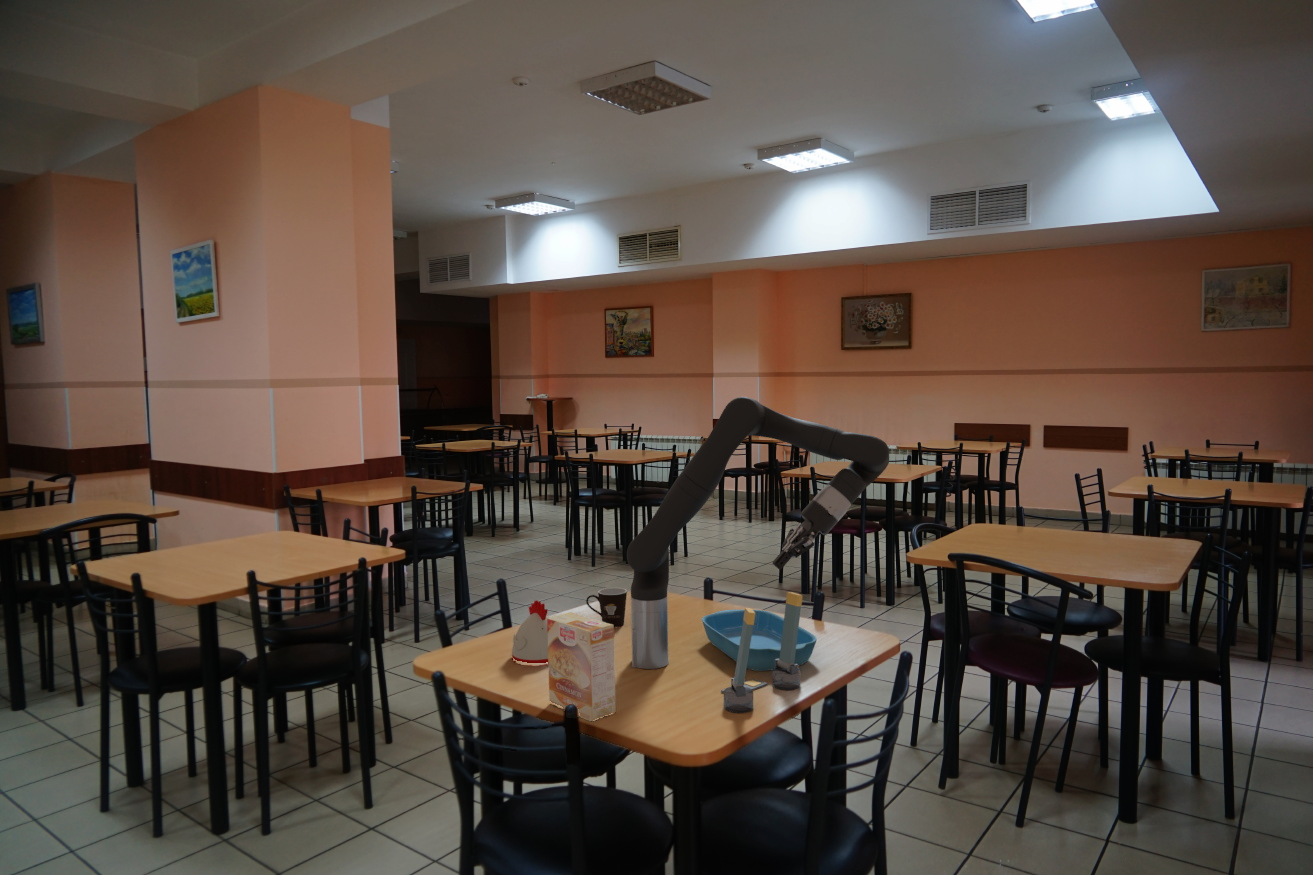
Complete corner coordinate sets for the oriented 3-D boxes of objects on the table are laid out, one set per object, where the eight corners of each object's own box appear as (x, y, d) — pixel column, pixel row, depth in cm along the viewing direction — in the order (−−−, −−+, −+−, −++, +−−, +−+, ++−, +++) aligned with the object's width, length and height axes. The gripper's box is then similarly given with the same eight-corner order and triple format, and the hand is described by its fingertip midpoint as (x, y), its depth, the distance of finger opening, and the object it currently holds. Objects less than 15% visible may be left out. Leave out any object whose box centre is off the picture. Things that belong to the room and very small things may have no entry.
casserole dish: (832, 669, 196) (832, 640, 196) (751, 681, 188) (751, 652, 188) (761, 629, 230) (761, 604, 230) (690, 638, 223) (690, 613, 222)
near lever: (740, 687, 174) (752, 608, 174) (743, 693, 170) (756, 613, 170) (731, 686, 174) (743, 607, 173) (734, 692, 170) (747, 612, 169)
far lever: (783, 666, 187) (792, 591, 187) (794, 671, 183) (803, 595, 184) (776, 666, 186) (785, 591, 186) (788, 671, 182) (797, 595, 183)
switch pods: (740, 715, 168) (740, 689, 167) (717, 707, 172) (717, 682, 172) (806, 684, 185) (805, 661, 184) (783, 678, 189) (783, 655, 189)
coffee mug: (633, 622, 239) (632, 589, 238) (616, 629, 232) (616, 596, 231) (601, 617, 245) (601, 585, 245) (584, 624, 238) (584, 591, 237)
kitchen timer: (529, 670, 199) (527, 611, 198) (502, 656, 209) (500, 600, 209) (575, 657, 208) (574, 601, 207) (547, 645, 218) (546, 591, 218)
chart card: (734, 697, 178) (734, 694, 178) (720, 691, 181) (720, 689, 181) (767, 684, 185) (767, 682, 185) (753, 679, 189) (753, 677, 189)
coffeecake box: (548, 704, 176) (545, 617, 175) (573, 695, 181) (571, 611, 180) (591, 723, 165) (589, 630, 164) (617, 713, 170) (615, 623, 169)
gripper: (805, 495, 187) (756, 550, 186) (823, 502, 174) (771, 561, 173) (828, 516, 188) (780, 571, 187) (848, 524, 175) (796, 583, 174)
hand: (776, 566), depth 180 cm, fingers closed
